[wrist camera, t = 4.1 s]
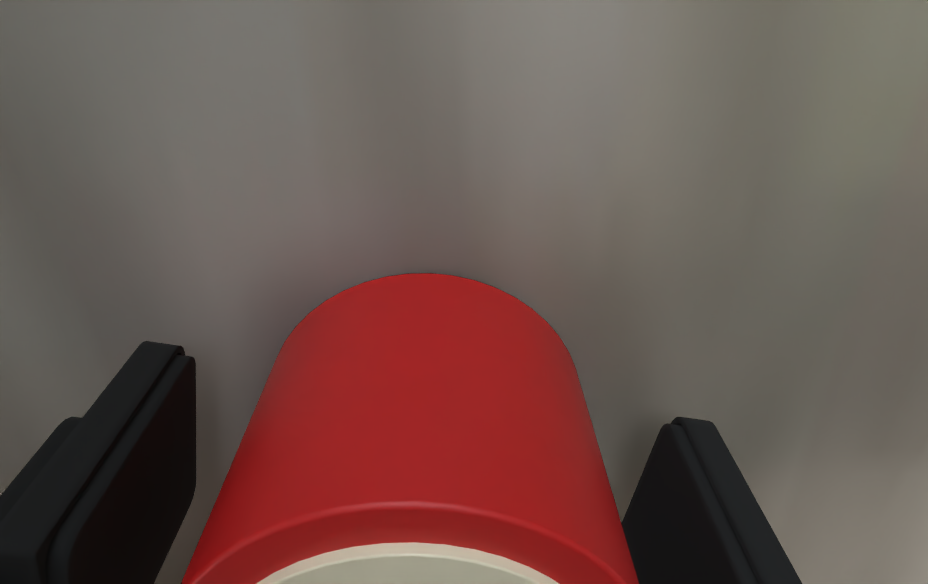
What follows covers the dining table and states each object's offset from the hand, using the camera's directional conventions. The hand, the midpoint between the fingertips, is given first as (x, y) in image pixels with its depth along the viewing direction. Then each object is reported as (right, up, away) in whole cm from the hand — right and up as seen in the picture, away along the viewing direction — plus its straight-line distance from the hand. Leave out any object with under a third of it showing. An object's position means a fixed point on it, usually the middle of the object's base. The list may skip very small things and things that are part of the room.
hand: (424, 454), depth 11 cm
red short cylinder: (0, +1, +1) cm, 1 cm away
